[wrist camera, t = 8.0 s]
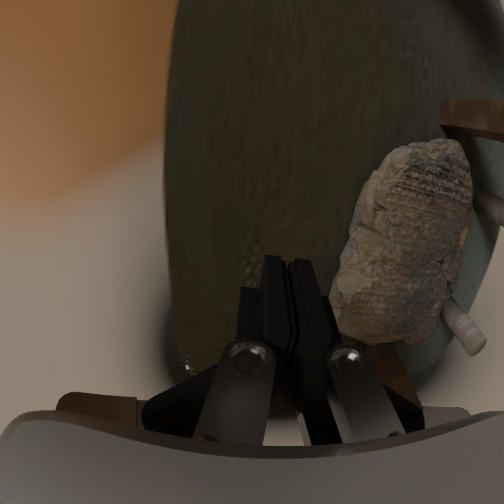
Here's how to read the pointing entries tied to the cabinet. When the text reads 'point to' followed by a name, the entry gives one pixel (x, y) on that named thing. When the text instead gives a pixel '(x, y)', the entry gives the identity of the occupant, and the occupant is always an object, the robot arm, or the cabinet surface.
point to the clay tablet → (404, 244)
